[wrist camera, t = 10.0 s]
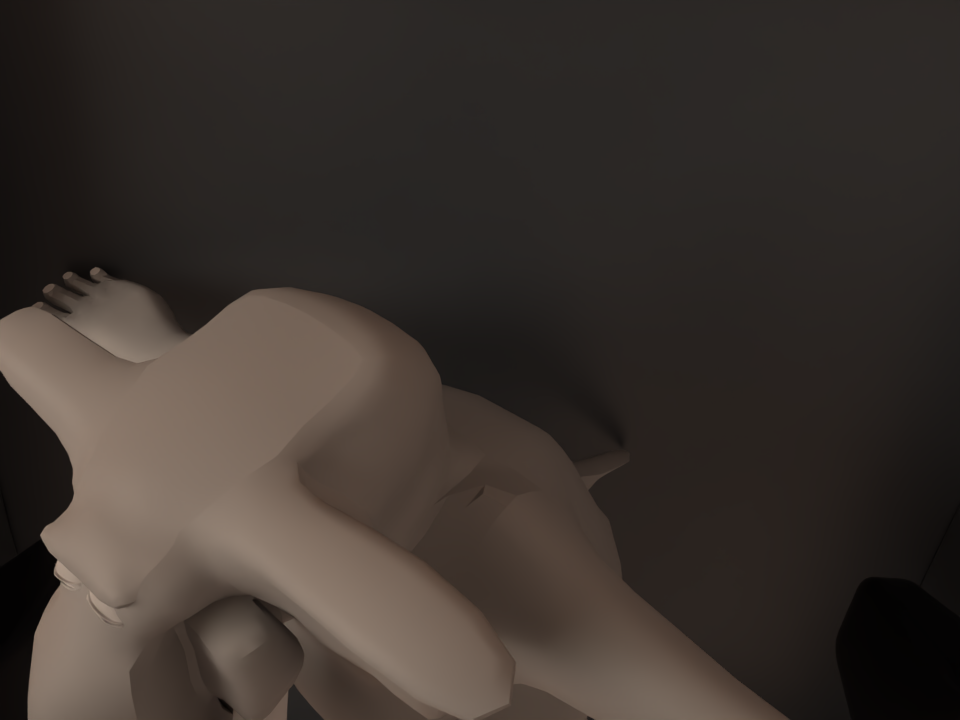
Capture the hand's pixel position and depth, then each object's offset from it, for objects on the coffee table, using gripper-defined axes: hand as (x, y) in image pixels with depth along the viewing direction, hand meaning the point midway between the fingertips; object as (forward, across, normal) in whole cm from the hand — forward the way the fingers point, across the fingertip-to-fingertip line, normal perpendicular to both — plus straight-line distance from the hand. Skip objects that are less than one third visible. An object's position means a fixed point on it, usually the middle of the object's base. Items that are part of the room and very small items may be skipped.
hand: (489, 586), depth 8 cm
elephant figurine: (+3, 0, 0) cm, 3 cm away
